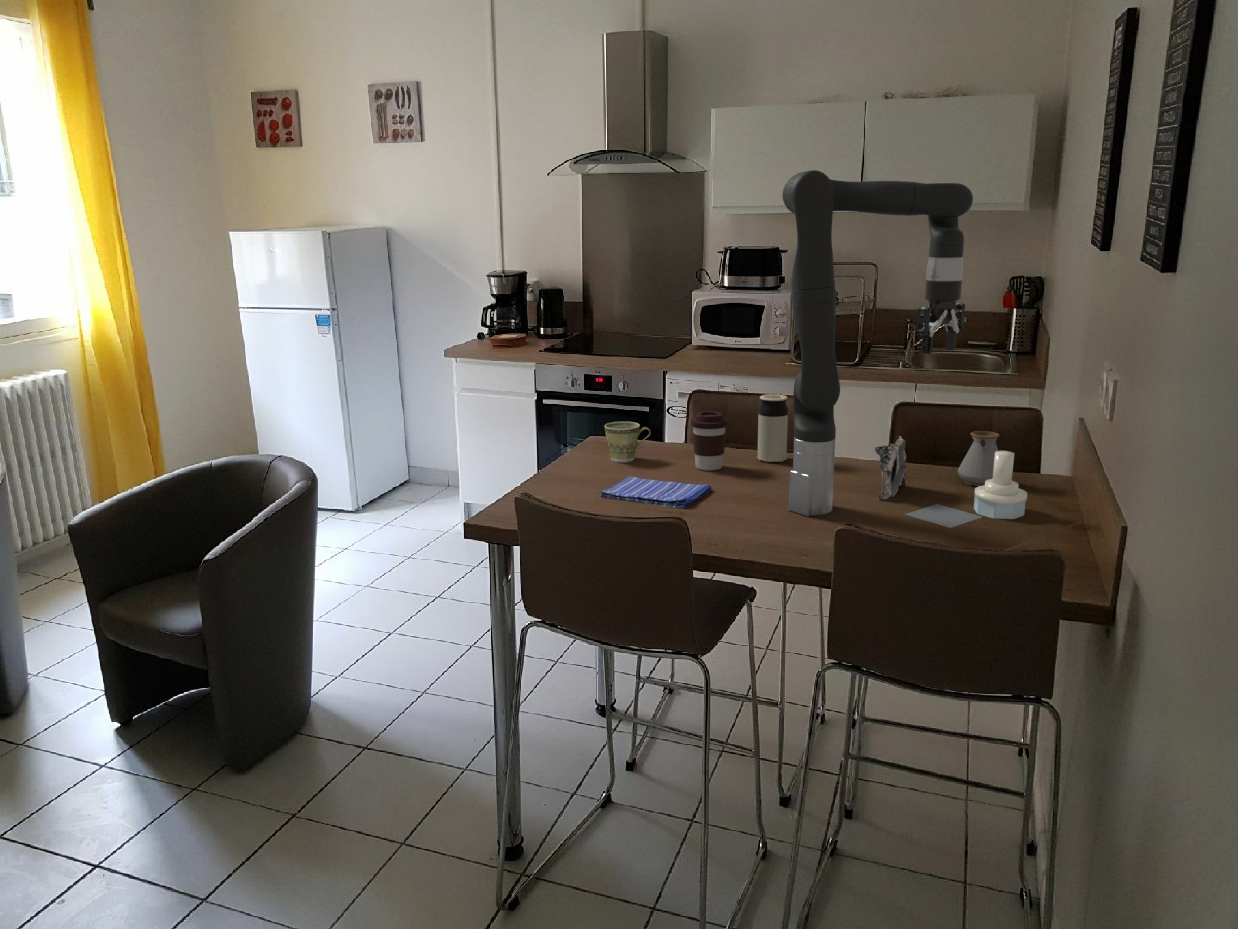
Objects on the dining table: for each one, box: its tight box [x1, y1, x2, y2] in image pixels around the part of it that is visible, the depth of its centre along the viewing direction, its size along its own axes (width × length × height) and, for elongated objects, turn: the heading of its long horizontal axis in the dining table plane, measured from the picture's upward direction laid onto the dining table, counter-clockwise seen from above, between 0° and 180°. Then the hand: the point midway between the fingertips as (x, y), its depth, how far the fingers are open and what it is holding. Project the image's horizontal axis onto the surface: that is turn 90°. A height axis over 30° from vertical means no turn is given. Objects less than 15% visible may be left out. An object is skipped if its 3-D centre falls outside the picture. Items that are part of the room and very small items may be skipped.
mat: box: [904, 503, 983, 529], centre depth 206 cm, size 12×12×1 cm
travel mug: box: [757, 393, 789, 462], centre depth 254 cm, size 8×8×18 cm
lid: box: [973, 450, 1028, 504], centre depth 206 cm, size 11×11×10 cm
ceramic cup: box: [604, 421, 652, 463], centre depth 258 cm, size 13×10×10 cm
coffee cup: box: [690, 411, 729, 472], centre depth 248 cm, size 10×10×15 cm
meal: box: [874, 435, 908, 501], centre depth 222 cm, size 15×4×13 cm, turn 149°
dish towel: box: [599, 476, 712, 509], centre depth 227 cm, size 17×24×3 cm
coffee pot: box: [957, 430, 1000, 485], centre depth 225 cm, size 21×12×15 cm, turn 156°
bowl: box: [973, 496, 1027, 520], centre depth 208 cm, size 10×10×4 cm
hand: (938, 351), depth 206 cm, fingers open, 8 cm apart
